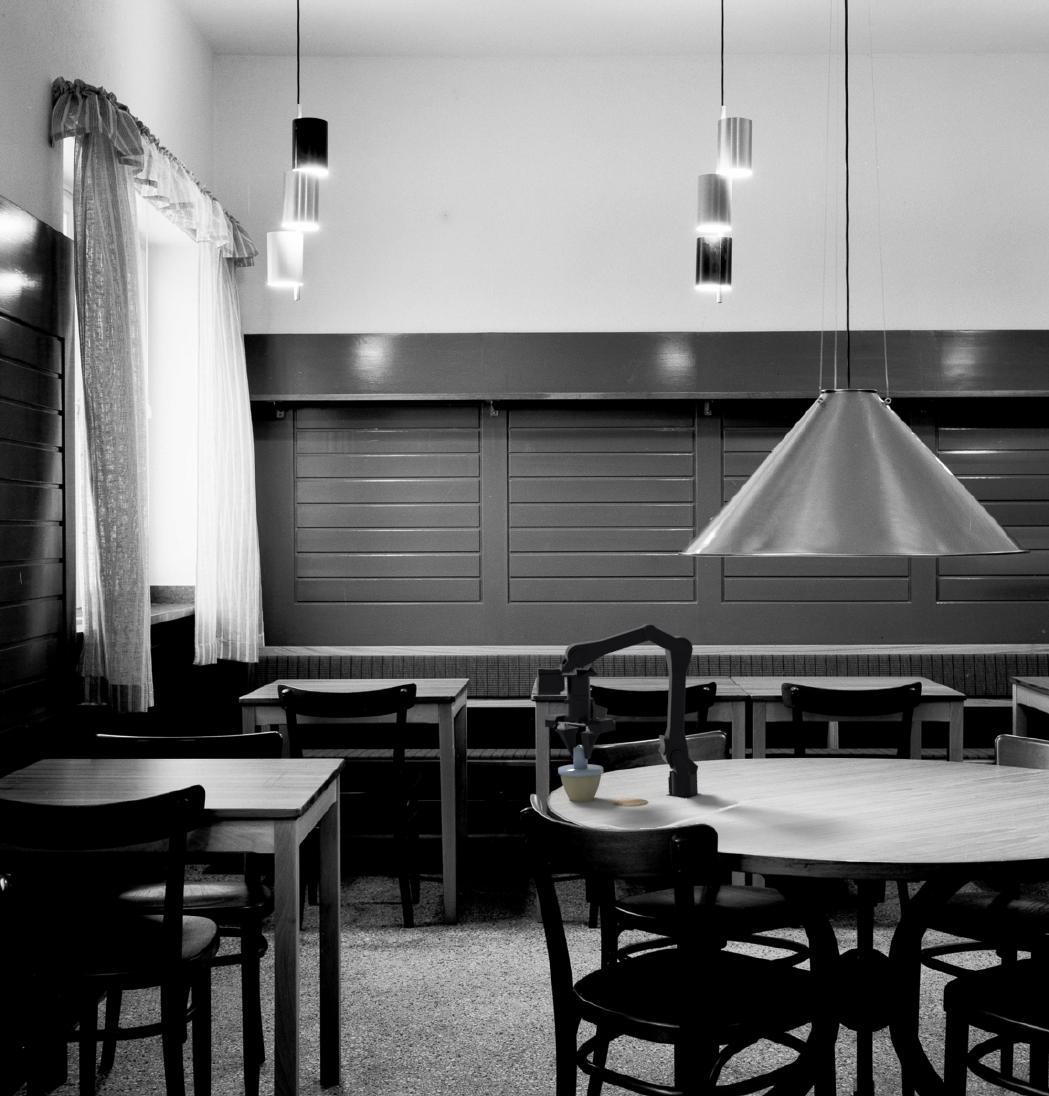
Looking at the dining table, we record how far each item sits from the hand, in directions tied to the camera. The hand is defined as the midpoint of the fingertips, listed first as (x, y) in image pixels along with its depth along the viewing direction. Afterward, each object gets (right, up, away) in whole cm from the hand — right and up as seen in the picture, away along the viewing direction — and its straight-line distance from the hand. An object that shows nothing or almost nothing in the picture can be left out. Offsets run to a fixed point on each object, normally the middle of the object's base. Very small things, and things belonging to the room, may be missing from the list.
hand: (580, 758), depth 281 cm
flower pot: (0, -11, 0) cm, 11 cm away
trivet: (+12, -10, -6) cm, 17 cm away
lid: (0, -4, 0) cm, 4 cm away
